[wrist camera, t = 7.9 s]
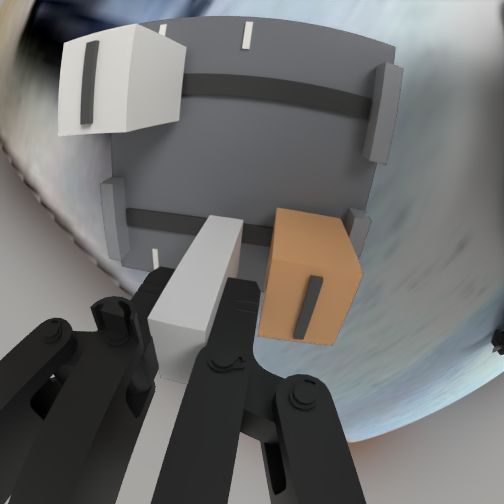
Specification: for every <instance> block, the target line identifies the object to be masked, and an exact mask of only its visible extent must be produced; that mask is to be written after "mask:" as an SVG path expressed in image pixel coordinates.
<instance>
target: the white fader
mask: <svg viewBox="0 0 504 504" xmlns="http://www.w3.org/2000/svg"><path fill="white" fill-rule="evenodd" d="M186 48H187V47H185V46H183V45H181V44H179V43H177V42H175V41H173V40H171V39H169V38H167V37H165V36H163V35H161V34H159V33H157V32H155V31H152V30H150V29H148V28H146V27H143V26H141V25H139V24H131V25H126V26H121V27H117V28H113V29H108V30H105V31H101V32H97V33H94V34H90V35H87V36H83V37H80V38H77V39H74V40H71V41H68V42H66V43H64V47H63V55H62V63H61V72H60V84H59V103H58V137H59V136H69V135H81V134H95V133H119V132H129V131H133V130H137V129H142V128H146V127H150V126H155V125H160V124H165V123H170V122H175V121H179V115H180V103H181V92H182V81H183V72H184V64H185V56H186Z"/></svg>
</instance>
